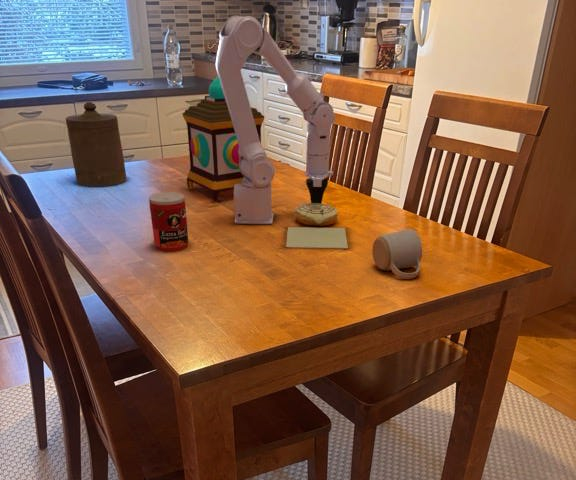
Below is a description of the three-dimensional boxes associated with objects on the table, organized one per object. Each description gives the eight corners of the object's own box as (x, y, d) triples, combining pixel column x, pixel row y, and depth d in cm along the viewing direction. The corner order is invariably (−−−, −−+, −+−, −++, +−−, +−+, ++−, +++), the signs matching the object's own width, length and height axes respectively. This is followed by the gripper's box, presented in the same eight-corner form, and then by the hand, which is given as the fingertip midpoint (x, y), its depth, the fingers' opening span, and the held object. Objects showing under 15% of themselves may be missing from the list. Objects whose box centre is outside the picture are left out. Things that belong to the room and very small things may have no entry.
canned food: (160, 253, 128) (154, 203, 122) (150, 242, 134) (144, 194, 128) (193, 248, 131) (189, 199, 125) (182, 237, 137) (177, 190, 131)
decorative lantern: (273, 194, 168) (272, 77, 152) (213, 205, 159) (205, 82, 142) (238, 179, 182) (234, 71, 166) (181, 188, 173) (170, 75, 156)
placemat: (286, 247, 132) (286, 246, 131) (288, 227, 143) (288, 227, 143) (347, 248, 131) (347, 247, 131) (344, 228, 143) (344, 228, 143)
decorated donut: (323, 230, 141) (323, 215, 139) (287, 222, 146) (287, 207, 144) (344, 220, 148) (345, 205, 146) (309, 213, 153) (310, 198, 151)
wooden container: (105, 172, 188) (93, 97, 176) (136, 179, 181) (126, 101, 169) (66, 182, 178) (51, 103, 166) (98, 189, 171) (84, 108, 159)
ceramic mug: (368, 264, 123) (371, 228, 119) (401, 258, 126) (405, 223, 122) (394, 283, 115) (399, 246, 111) (429, 277, 118) (435, 240, 114)
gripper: (335, 160, 139) (332, 216, 147) (332, 147, 151) (330, 200, 159) (305, 159, 139) (304, 216, 147) (305, 147, 151) (304, 199, 159)
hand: (316, 207), depth 153 cm, fingers closed
